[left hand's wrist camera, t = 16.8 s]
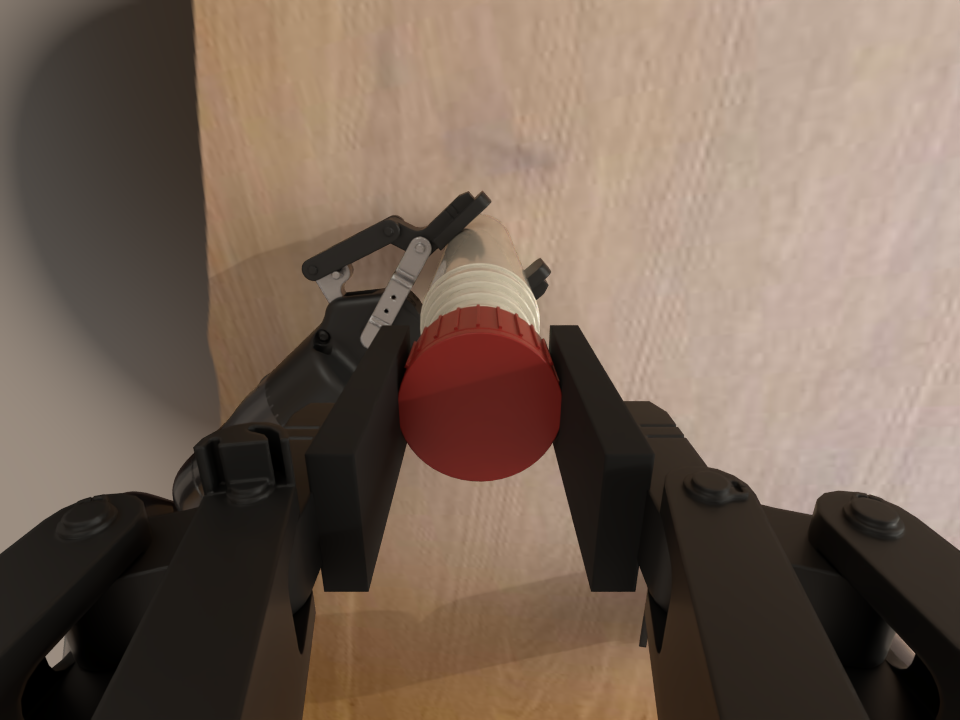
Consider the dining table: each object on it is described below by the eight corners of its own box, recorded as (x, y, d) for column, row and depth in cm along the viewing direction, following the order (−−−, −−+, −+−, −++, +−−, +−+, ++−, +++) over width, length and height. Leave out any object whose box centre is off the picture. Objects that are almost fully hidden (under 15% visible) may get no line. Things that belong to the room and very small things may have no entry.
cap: (381, 338, 14) (363, 371, 12) (519, 279, 13) (527, 302, 11) (445, 455, 15) (439, 504, 13) (572, 406, 14) (588, 449, 12)
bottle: (523, 253, 35) (602, 417, 13) (473, 290, 36) (462, 503, 14) (486, 200, 34) (500, 277, 11) (435, 240, 35) (354, 383, 12)
